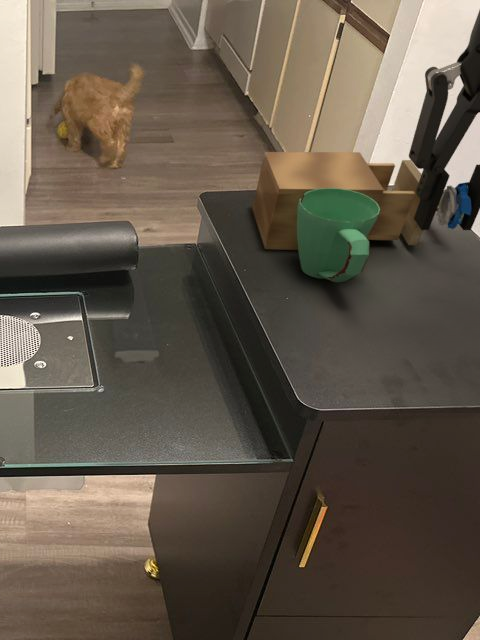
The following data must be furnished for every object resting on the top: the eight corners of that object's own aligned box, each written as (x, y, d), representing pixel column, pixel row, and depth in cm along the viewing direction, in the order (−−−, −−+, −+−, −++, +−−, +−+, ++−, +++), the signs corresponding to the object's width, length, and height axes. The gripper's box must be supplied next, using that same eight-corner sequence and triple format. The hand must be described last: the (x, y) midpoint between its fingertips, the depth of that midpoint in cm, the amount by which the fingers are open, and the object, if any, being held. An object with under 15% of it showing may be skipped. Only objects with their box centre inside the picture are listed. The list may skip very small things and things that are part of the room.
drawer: (422, 208, 112) (441, 160, 106) (448, 245, 103) (470, 195, 98) (308, 206, 114) (321, 159, 109) (325, 243, 105) (339, 193, 100)
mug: (273, 252, 106) (289, 189, 99) (343, 250, 105) (363, 186, 99) (305, 310, 95) (325, 242, 88) (383, 308, 94) (409, 239, 88)
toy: (462, 238, 80) (477, 196, 77) (426, 236, 81) (440, 194, 78) (454, 217, 84) (468, 176, 80) (420, 215, 85) (433, 175, 81)
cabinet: (342, 210, 114) (359, 152, 108) (363, 251, 105) (384, 189, 99) (252, 209, 116) (264, 151, 110) (264, 249, 107) (279, 188, 101)
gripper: (449, 11, 65) (372, 240, 81) (656, 3, 63) (537, 241, 78) (421, -10, 71) (354, 208, 86) (610, -17, 69) (507, 208, 84)
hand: (441, 223), depth 82 cm, fingers closed on toy, 4 cm apart
